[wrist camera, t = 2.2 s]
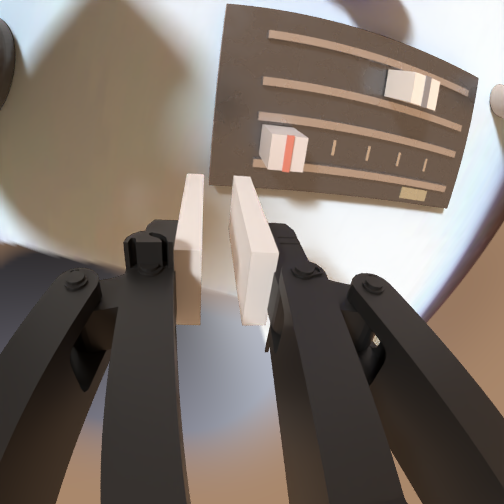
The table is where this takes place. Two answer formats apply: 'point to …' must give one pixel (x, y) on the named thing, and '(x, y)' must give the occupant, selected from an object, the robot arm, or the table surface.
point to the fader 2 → (412, 88)
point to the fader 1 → (283, 148)
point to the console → (335, 109)
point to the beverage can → (497, 100)
